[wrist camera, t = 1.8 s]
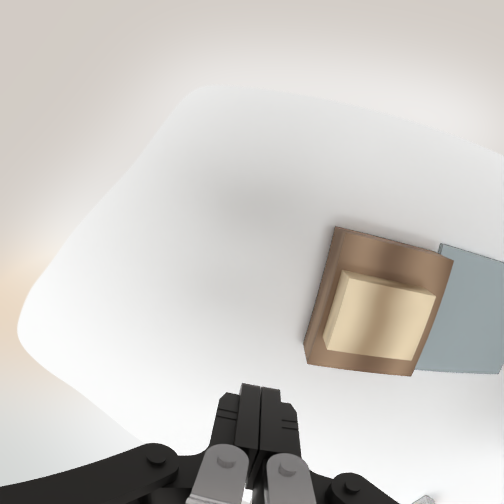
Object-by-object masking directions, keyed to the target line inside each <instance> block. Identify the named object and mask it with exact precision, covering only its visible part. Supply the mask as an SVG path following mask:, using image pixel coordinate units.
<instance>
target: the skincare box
mask: <svg viewBox="0 0 504 504" xmlns="http://www.w3.org/2000/svg"><path fill="white" fill-rule="evenodd" d="M413 504H435V501H434V500H433V499H431V498H429V497H428V496H424V497H423V498H421V499H419V500H418V501H416V502H415V503H413Z"/></svg>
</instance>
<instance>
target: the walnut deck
mask: <svg viewBox="0 0 504 504" xmlns="http://www.w3.org/2000/svg"><path fill="white" fill-rule="evenodd" d="M453 263H454V260H452V259H449V258H447V257H445V256H443V255H441V254H438V253H436V252H433V251H430V250H426V249H422V248H419V247H415V246H411V245H408V244H404V243H400V242H396V241H392V240H388V239H385V238H381V237H377V236H373V235H369V234H365V233H361V232H357V231H353V230H349V229H345V228H340V227H336V226H335V230H334V234H333V238H332V242H331V246H330V250H329V254H328V258H327V262H326V266H325V269H324V273H323V277H322V281H321V284H320V288H319V291H318V295H317V299H316V302H315V306H314V309H313V313H312V316H311V319H310V323H309V326H308V330H307V333H306V336H305V339H304V343H303V345H304V350H305V355H306V360H307V364H311V365H317V366H324V367H331V368H338V369H345V370H353V371H361V372H370V373H379V374H389V375H400V376H411V375H412V373H413V371H414V369H415V367H416V365H417V362H418V360H419V358H420V355H421V353H422V351H423V348H424V346H425V343H426V341H427V339H428V336H429V334H430V331H431V328H432V326H433V323H434V321H435V318H436V315H437V312H438V310H439V307H440V304H441V301H442V298H443V295H444V292H445V289H446V286H447V283H448V280H449V276H450V273H451V270H452V266H453ZM342 270H345V271H350V272H354V273H359V274H364V275H368V276H373V277H377V278H382V279H387V280H391V281H396V282H400V283H405V284H410V285H414V286H419V287H423V288H425V289H426V290H428V291H429V292H430V293H432V294H433V295H435V296H436V298H435V301H434V304H433V307H432V310H431V313H430V315H429V318H428V321H427V323H426V326H425V329H424V331H423V334H422V336H421V339H420V341H419V344H418V346H417V349H416V351H415V354H414V356H413V358H412V360H411V361H410V360H400V359H392V358H383V357H375V356H368V355H360V354H353V353H346V352H340V351H333V350H327V348H326V345H325V342H324V339H323V332H324V329H325V326H326V323H327V320H328V316H329V313H330V310H331V307H332V303H333V300H334V296H335V293H336V290H337V286H338V283H339V279H340V275H341V272H342Z"/></svg>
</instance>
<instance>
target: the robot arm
mask: <svg viewBox="0 0 504 504" xmlns="http://www.w3.org/2000/svg"><path fill="white" fill-rule="evenodd" d="M297 422H298V421H297V412H296V411H295V409H294V408H293V406H292V405H291V404H290V403H283V402H281V398H280V390H279V389H273V388H267V387H261V389H260V386H255V385H250V384H245V383H242V385H241V389H240V393H239V395H237V394H232V393H228V392H226V393H225V394H224V395H223V396H222V397H221V398H220V399H219V404H218V408H217V413H216V417H215V422H214V426H213V431H212V435H211V440H210V444H209V446H208V448H207V449H206V450H205V451H203V452H202V453H199V454H196V455H191V456H178V455H177V454H176V452H175V451H174V450H172V449H171V448H170V447H168V446H165V445H163V444H158V443H148V444H144V445H141V446H139V447H136V448H134V449H131V450H129V451H126V452H123V453H120V454H117V455H115V456H112V457H109V458H106V459H103V460H100V461H97V462H94V463H91V464H88V465H85V466H81V467H78V468H75V469H71V470H68V471H65V472H61V473H57V474H54V475H50V476H46V477H42V478H38V479H34V480H30V481H26V482H21V483H17V484H12V485H7V486H2V487H0V504H241V501H242V496H243V491H244V486H245V489H250V490H253V493H252V499H251V501H250V504H399V503H398V502H396V501H395V500H393V499H392V498H391V497H389V496H388V495H386V494H385V493H384V492H382V491H381V490H380V489H378V488H377V487H376V486H374V485H373V484H372V483H370V482H369V481H368V480H366V479H365V478H364V477H362V476H360V475H358V474H355V473H342V474H339V475H337V476H336V477H335V478H334V479H331V478H328V477H324V476H321V475H318V474H316V473H314V472H312V471H311V470H309V468H308V465H307V464H306V462H305V461H304V460H303V459H302V458H301V449H300V439H299V431H298V423H297ZM245 483H246V485H245Z"/></svg>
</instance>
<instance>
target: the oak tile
mask: <svg viewBox="0 0 504 504" xmlns="http://www.w3.org/2000/svg"><path fill="white" fill-rule="evenodd" d="M435 298H436V296H435V295H433V294H432V293H430V292H429V291H428V290H426V289H425V288H423V287H419V286H414V285H410V284H405V283H400V282H396V281H391V280H387V279H382V278H377V277H373V276H368V275H364V274H359V273H354V272H350V271H345V270H342V272H341V275H340V279H339V283H338V286H337V290H336V293H335V296H334V300H333V303H332V307H331V310H330V313H329V316H328V320H327V323H326V326H325V329H324V332H323V339H324V342H325V345H326V348H327V350H333V351H340V352H346V353H353V354H360V355H368V356H375V357H383V358H392V359H400V360H410V361H411V360H412V358H413V356H414V354H415V351H416V349H417V346H418V344H419V341H420V339H421V336H422V334H423V331H424V329H425V326H426V323H427V321H428V318H429V315H430V313H431V310H432V307H433V304H434V301H435Z"/></svg>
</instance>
